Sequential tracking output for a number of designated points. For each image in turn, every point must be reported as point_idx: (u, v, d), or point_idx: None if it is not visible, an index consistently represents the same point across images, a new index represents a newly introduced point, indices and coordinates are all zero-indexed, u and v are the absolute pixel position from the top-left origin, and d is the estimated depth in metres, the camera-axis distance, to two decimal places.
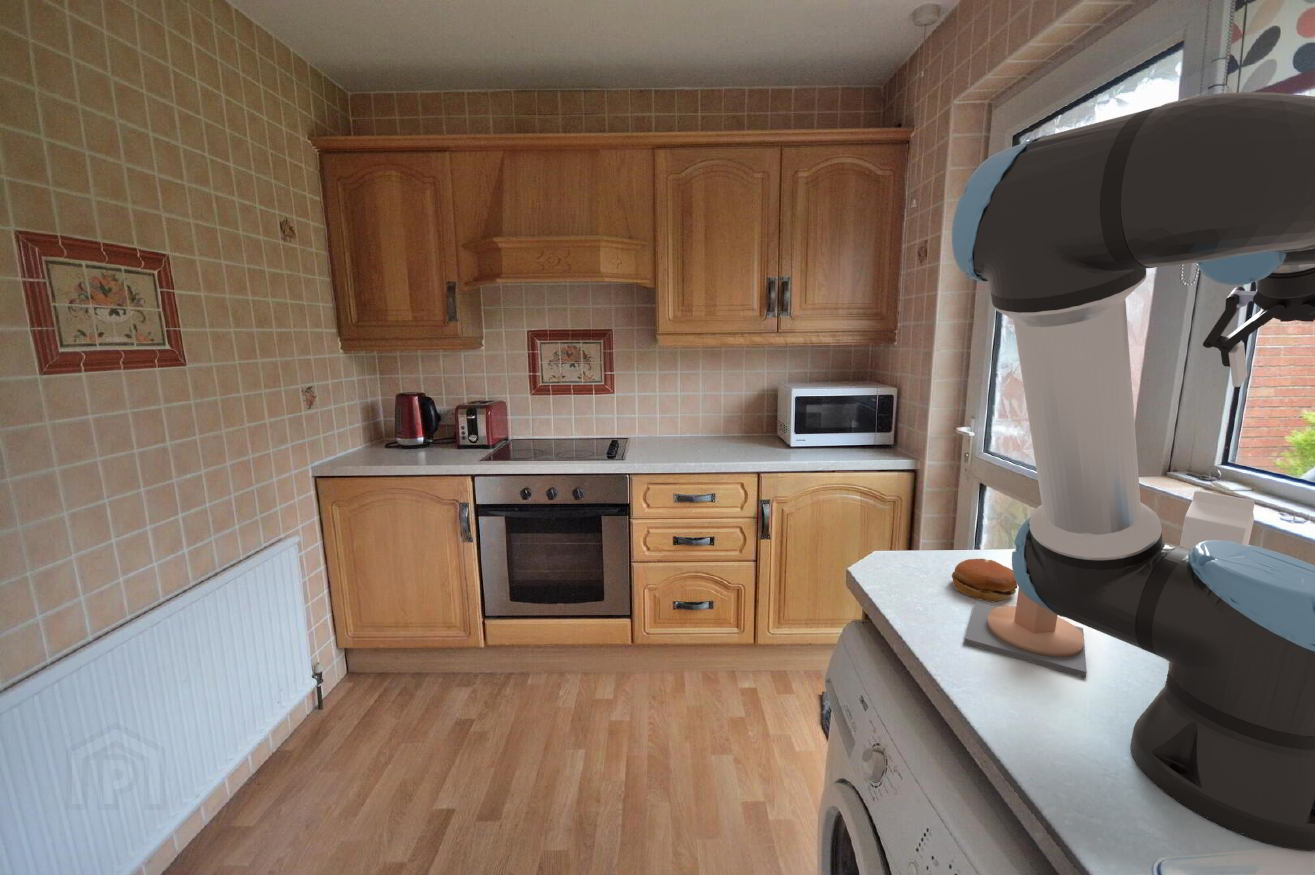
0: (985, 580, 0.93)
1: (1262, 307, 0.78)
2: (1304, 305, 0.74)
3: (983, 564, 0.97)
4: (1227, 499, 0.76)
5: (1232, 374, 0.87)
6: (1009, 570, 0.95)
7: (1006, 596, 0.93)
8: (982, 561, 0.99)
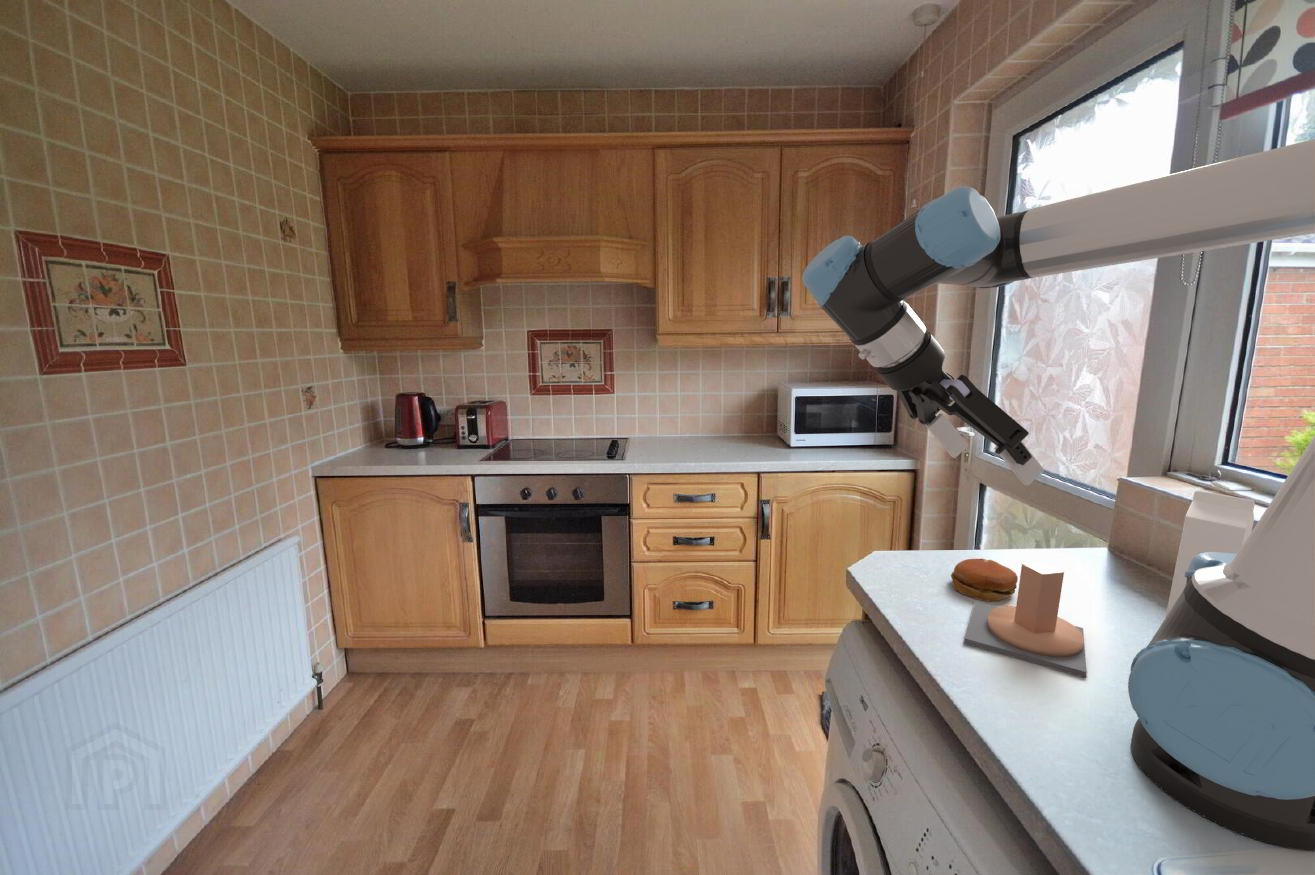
0: (985, 580, 0.93)
1: None
2: None
3: (983, 564, 0.97)
4: (1227, 499, 0.76)
5: None
6: (1008, 570, 0.95)
7: (1005, 596, 0.93)
8: (981, 561, 0.99)
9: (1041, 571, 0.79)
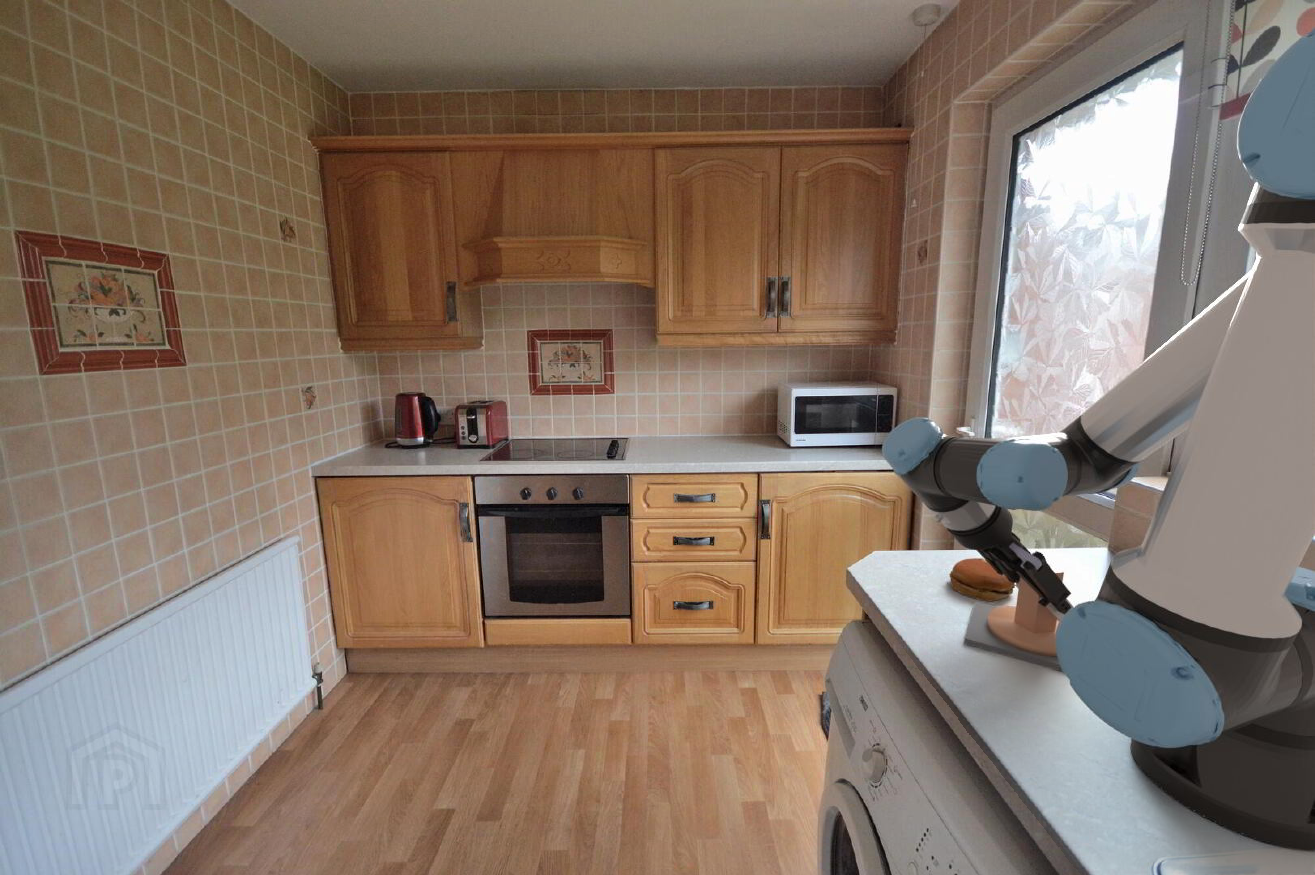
0: (983, 580, 0.93)
1: None
2: None
3: (981, 564, 0.98)
4: None
5: (1071, 605, 0.79)
6: None
7: (1004, 596, 0.93)
8: (980, 560, 0.99)
9: None
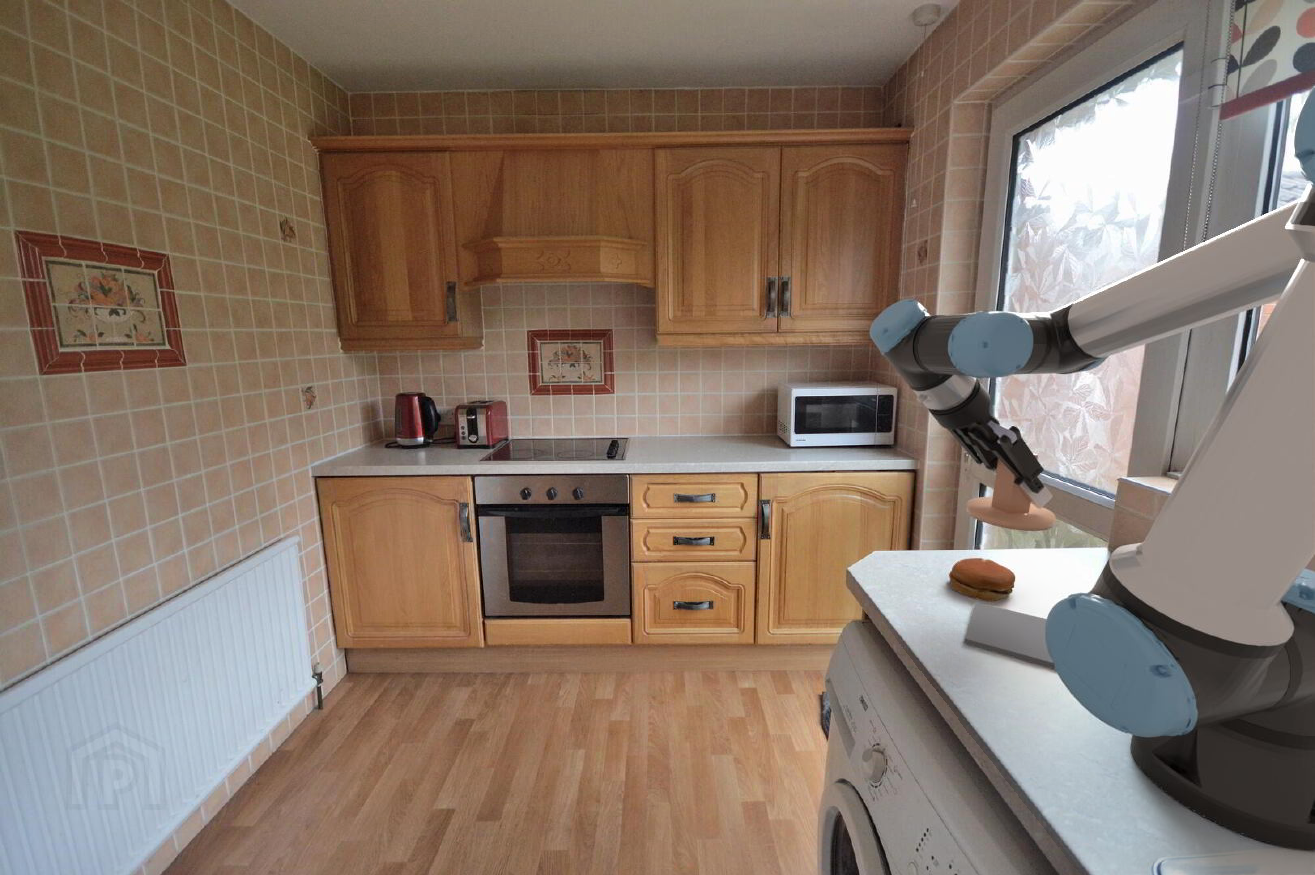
0: (982, 580, 0.93)
1: None
2: None
3: (981, 563, 0.98)
4: None
5: (1044, 486, 0.84)
6: (1006, 569, 0.95)
7: (1003, 595, 0.93)
8: (979, 560, 0.99)
9: None
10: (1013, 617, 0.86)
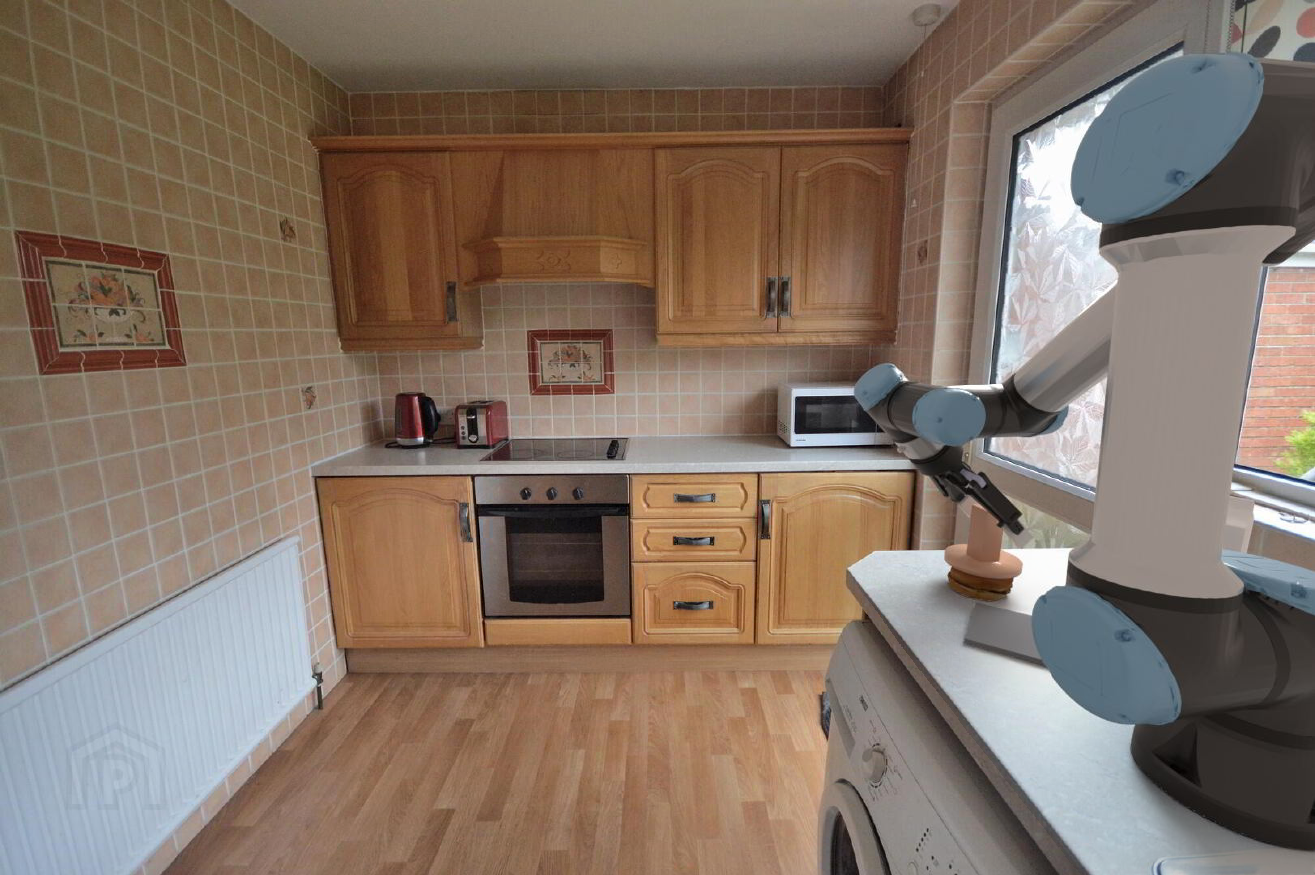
0: (981, 580, 0.93)
1: None
2: None
3: None
4: None
5: (1024, 528, 0.91)
6: None
7: (1001, 596, 0.93)
8: None
9: None
10: (1013, 617, 0.86)
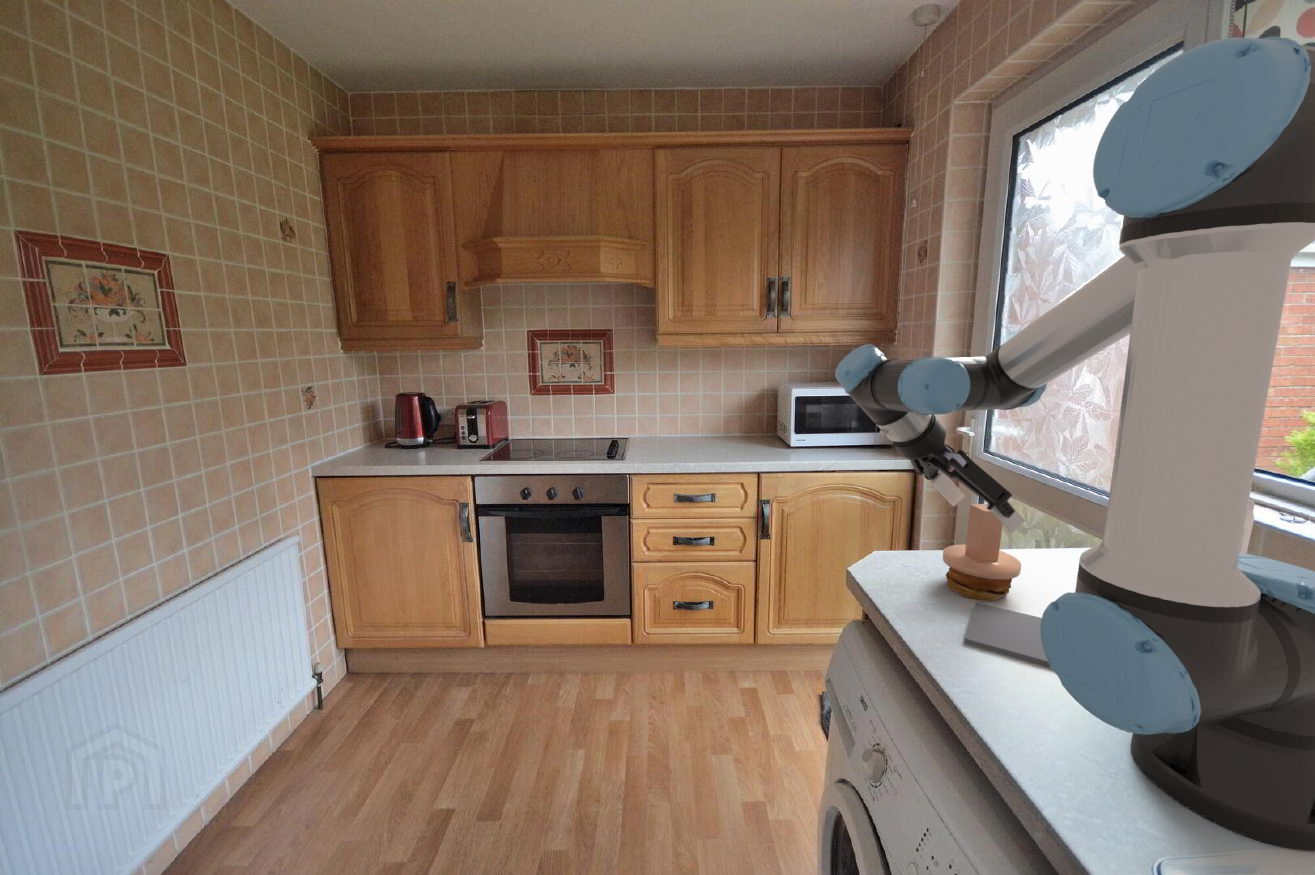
0: (979, 580, 0.93)
1: None
2: None
3: None
4: None
5: (1016, 511, 0.88)
6: None
7: (1000, 596, 0.93)
8: None
9: (984, 509, 0.93)
10: (1013, 617, 0.86)
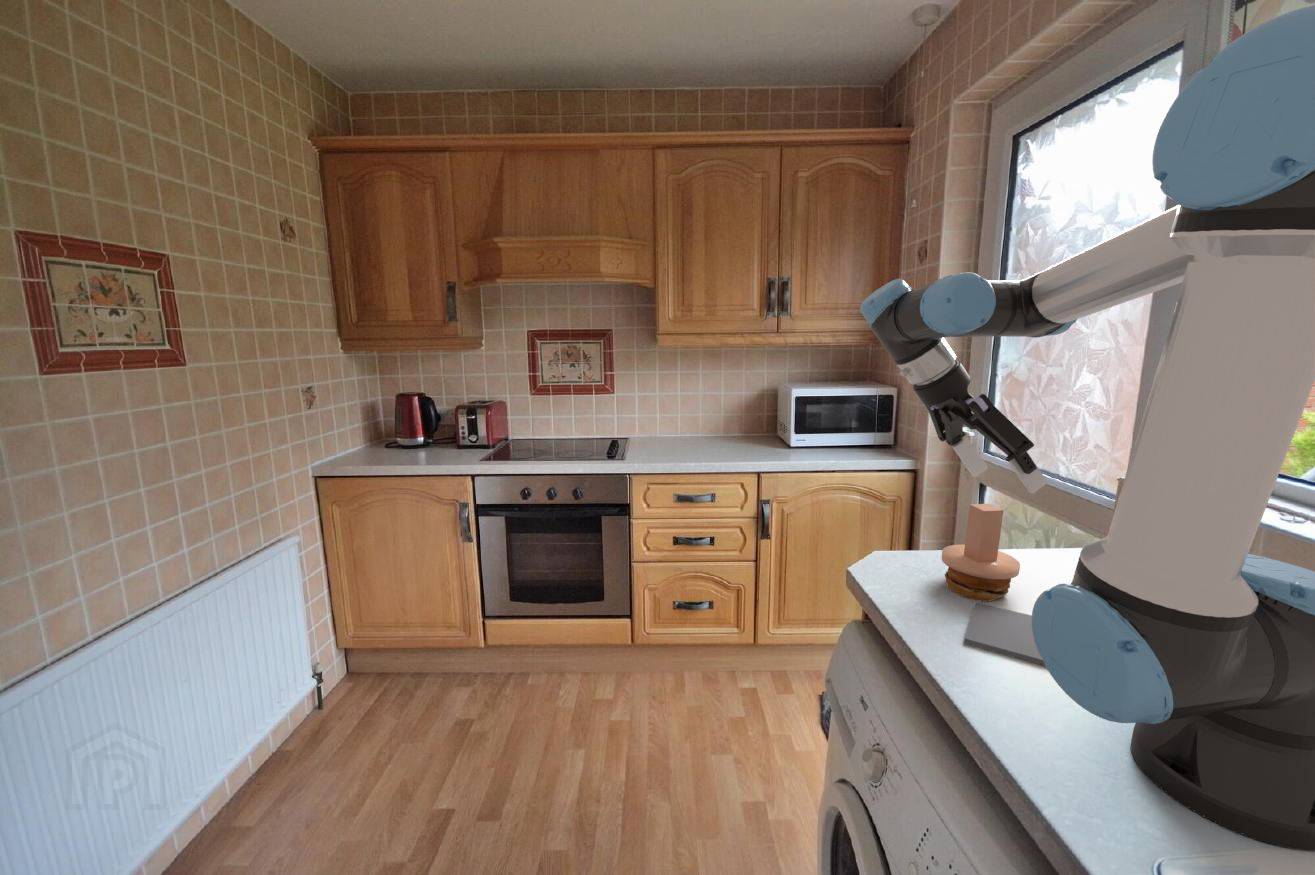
0: (978, 580, 0.93)
1: None
2: None
3: None
4: None
5: (1038, 470, 0.82)
6: None
7: (999, 596, 0.93)
8: None
9: (983, 509, 0.93)
10: (1013, 617, 0.86)
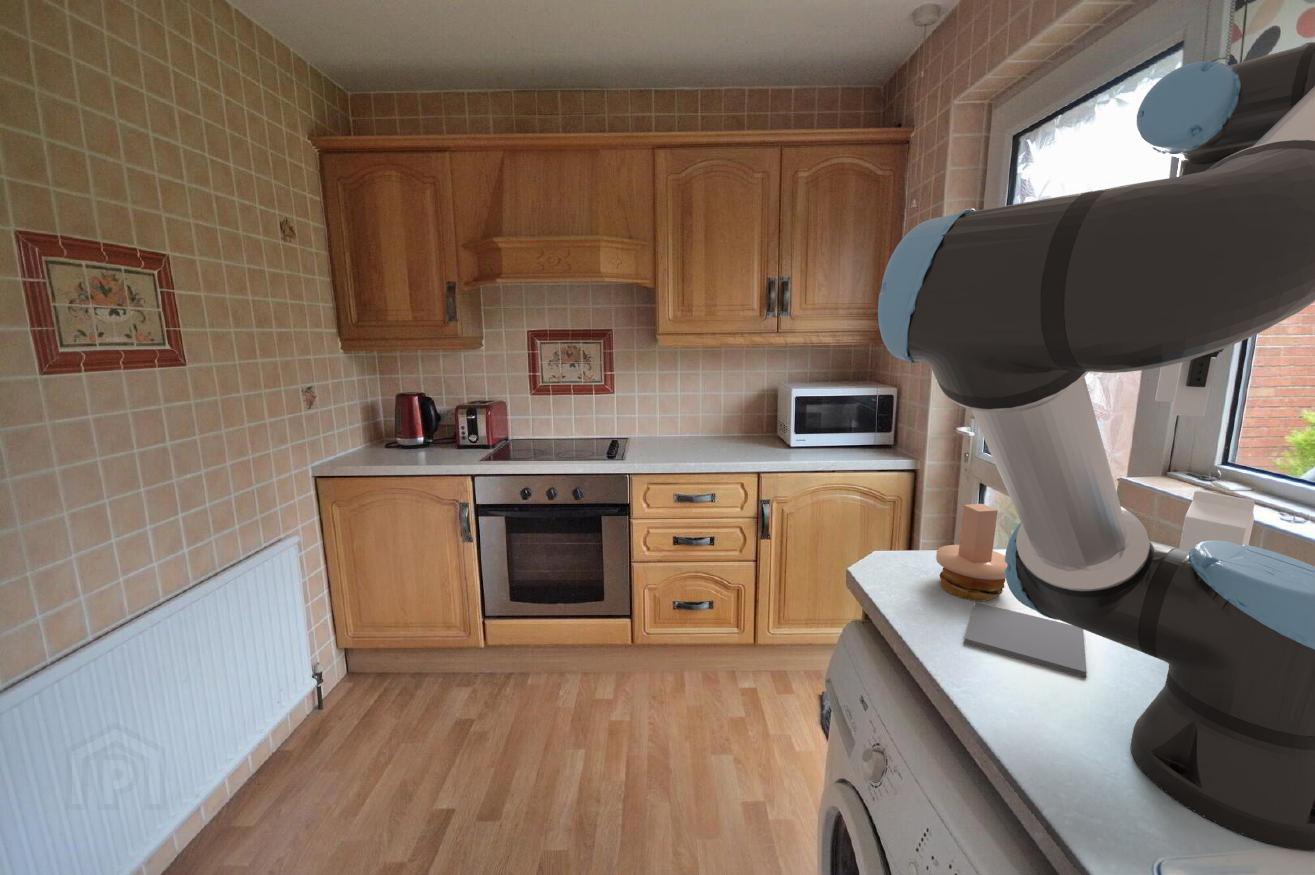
0: (972, 580, 0.93)
1: None
2: None
3: None
4: (1227, 499, 0.76)
5: (1208, 395, 0.62)
6: None
7: (993, 596, 0.93)
8: None
9: (978, 510, 0.93)
10: (1013, 617, 0.86)
